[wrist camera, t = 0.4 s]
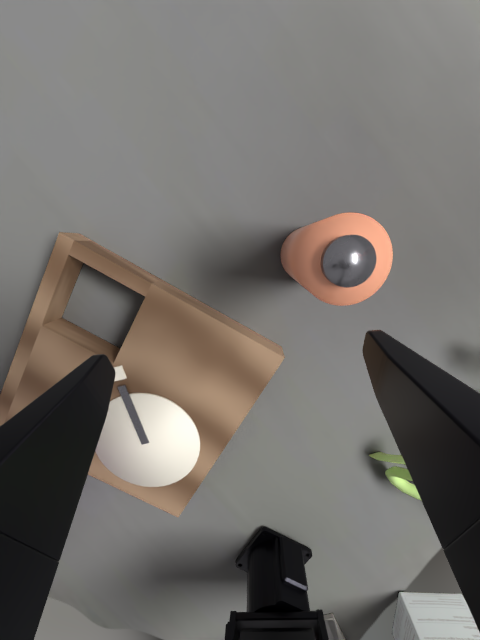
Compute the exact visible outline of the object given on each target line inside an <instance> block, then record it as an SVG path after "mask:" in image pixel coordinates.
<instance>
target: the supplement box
mask: <svg viewBox="0 0 480 640" xmlns="http://www.w3.org/2000/svg"><path fill="white" fill-rule="evenodd" d="M392 634H393V637H394V640H480V632H479V630H478V628H477V625H476V623H475V621H474V619H473V616H472V614H471V612H470V610H469V607H468V605H467V603H466V601H465V599H464V598H463V596H462V595H461V594H460V593H457V594H455V593H454V594H452V593H420V592H418V593H417V592H399V595H398V601H397V606H396V611H395V617H394V622H393V627H392Z"/></svg>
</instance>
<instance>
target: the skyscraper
mask: <svg viewBox="0 0 480 640" xmlns="http://www.w3.org/2000/svg"><path fill="white" fill-rule="evenodd" d="M324 620H325V624H326V629H327V633H328V638H329V640H346V639H345V637H344V635H343V633H342V631H341V629H340V627H339V625H338V623H337V621H336V619H335V617H334V615H333V613H331V614H327V615H324Z"/></svg>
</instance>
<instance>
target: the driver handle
mask: <svg viewBox="0 0 480 640" xmlns="http://www.w3.org/2000/svg"><path fill="white" fill-rule="evenodd" d="M280 257H281V263H282V266H283V268H284V270H285V271H286V272H287V273H288V274H289V275H290V276H291V277H292V278H293V279H295V280H296V281H297V282H298V283H299V284H301V285H302V286H303V287H304V288H305V289H307V290H308V291H309V292H310V293H312V294H313V295H314V296H315V297H317V298H318V299H320V300H321V301H323V302H326V303H329V304H332V305H340V306H343V305H352V304H355V303H359V302H361V301H363V300H365V299H367V298H369V297H370V296H371V295H373V294H374V293H375V292H376V291H377V290H378V289H379V288H380V287H381V286H382V285H383V283H384V282H385V280H386V278H387V276H388V274H389V272H390V269H391V265H392V258H393V251H392V245H391V241H390V238H389V236H388V234H387V232H386V231H385V229H384V228H383V227H382V226H381V225H380V224H379V223H378V222H377V221H376V220H374V219H373V218H371V217H369V216H366V215H364V214H360V213H341V214H337V215H334V216H331V217H329V218H326V219H323V220H321V221H318V222H315V223H312V224H310V225H307V226H304V227H302V228H299V229H297V230H295V231H293V232H292V233H291V234H290V235H289V236H288V237H287V238H286V239H285V241H284V243H283V245H282V248H281V254H280Z"/></svg>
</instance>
